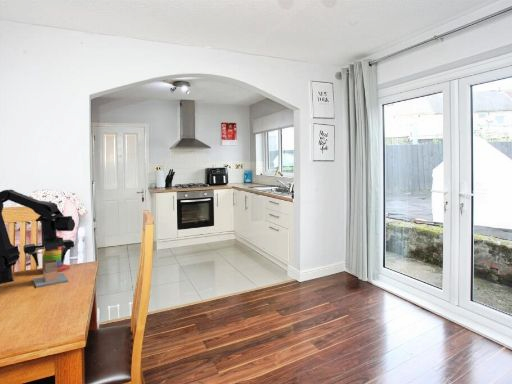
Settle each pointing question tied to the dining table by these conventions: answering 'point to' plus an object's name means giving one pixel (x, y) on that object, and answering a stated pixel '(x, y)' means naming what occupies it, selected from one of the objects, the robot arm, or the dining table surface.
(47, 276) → the terracotta brick
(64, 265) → the stacking bear
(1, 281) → the robot arm
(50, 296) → the dining table surface
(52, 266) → the walnut brick
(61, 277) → the baseplate
